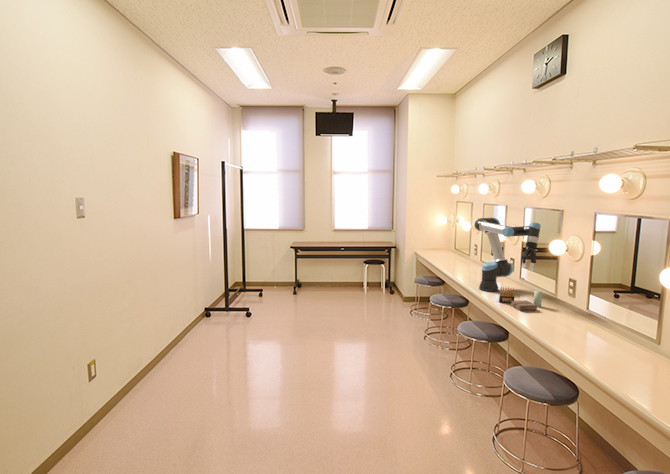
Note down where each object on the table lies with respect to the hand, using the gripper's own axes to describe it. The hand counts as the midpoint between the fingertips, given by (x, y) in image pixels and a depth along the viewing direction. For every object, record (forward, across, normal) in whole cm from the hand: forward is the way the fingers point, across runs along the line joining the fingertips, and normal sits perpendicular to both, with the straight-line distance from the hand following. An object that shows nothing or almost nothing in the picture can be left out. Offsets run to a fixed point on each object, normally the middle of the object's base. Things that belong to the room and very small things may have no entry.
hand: (527, 269), depth 274 cm
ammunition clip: (+28, -7, +8) cm, 30 cm away
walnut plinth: (+30, -10, -6) cm, 32 cm away
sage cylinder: (+26, +2, -10) cm, 28 cm away
